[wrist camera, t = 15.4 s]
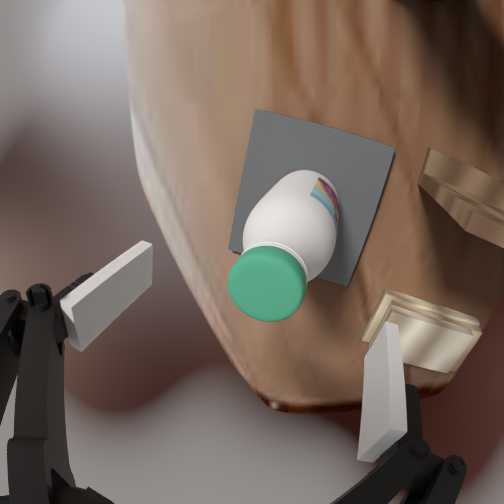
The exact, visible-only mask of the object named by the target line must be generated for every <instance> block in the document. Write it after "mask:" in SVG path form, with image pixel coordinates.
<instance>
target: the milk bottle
mask: <svg viewBox="0 0 504 504" xmlns="http://www.w3.org/2000/svg"><path fill="white" fill-rule="evenodd" d="M338 220H339V197H338V194H337V191H336V189H335V187H334V186H333V184H332V183H331V182H330V181H329V180H328V179H327V178H326V177H325V176H323V175H321V174H320V173H317V172H314V171H310V170H299V171H295V172H292V173H290V174H288V175H286V176H285V177H283V178H282V179H281V180H280V181H279V182H278V183H277V184H276V185H275V186H274V187H273V188H272V189H271V190H270V191H269V192H268V193H267V194H266V195H265V196H264V197H263V198H262V199H261V200H260V201H259V202H258V203H257V205H256V206H255V207H254V208H253V210H252V211H251V213H250V215H249V217H248V219H247V221H246V224H245V227H244V232H243V249H244V252H243V253H242V254H241V256H240V257H239V258H238V259H237V261H236V262H235V264H234V265H233V267H232V269H231V271H230V273H229V277H228V290H229V294H230V296H231V298H232V300H233V302H234V303H235V305H236V306H237V307H238V308H239V309H240V310H241V311H242V312H243V313H245V314H246V315H248V316H250V317H252V318H254V319H257V320H260V321H266V322H275V321H280V320H283V319H286V318H288V317H290V316H291V315H292V314H293V313H295V311H296V310H297V309H298V308H299V307H300V305H301V303H302V301H303V298H304V295H305V290H306V287H307V283H308V281H310V280H312V279H313V278H315V277H316V276H317V275H318V274H319V273H320V272H321V271H322V270H323V269H324V268H325V267H326V265H327V264H328V262H329V260H330V258H331V256H332V254H333V251H334V248H335V244H336V239H337V231H338Z"/></svg>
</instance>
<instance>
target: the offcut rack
mask: <svg viewBox="0 0 504 504" xmlns="http://www.w3.org/2000/svg"><path fill="white" fill-rule="evenodd" d="M418 184H419V185H420V186H421V187H422V188H423V189H424V190H425V191H426V192H427V193H428V194H429V195H430V196H431V197H432V198H433V199H434V200H435V201H436V202H438V203H439V204H440V205H441V206H442V207H443V208H444V209H445V210H446V211H447V212H448V213H449V215H450V216H451V217H452V218H453V219H454V220H455V221H456V222H457V223H458V224H459V225H460V226H461V227H462V228H463V229H464V230H465V231H466V232H469V233H471V234H473V235H476V236H478V237H480V238H482V239H485V240H487V241H489V242H491V243H493V244H496V245H498V246H500V247H502V248H504V183H503V182H501V181H499V180H497V179H495V178H493V177H491V176H489V175H488V174H486V173H484V172H482V171H480V170H478V169H476V168H474V167H472V166H469V165H467V164H465V163H463V162H461V161H459V160H457V159H455V158H452V157H450V156H448V155H446V154H443V153H441V152H439V151H436V150H434V149H432V148H428V151H427V155H426V158H425V162H424V165H423V168H422V171H421V175H420V178H419V181H418ZM385 321H386V322H390V323H393V324H396V325H398V328H399V335H400V343H401V351H402V360H403V363H406V364H410V365H414V366H418V367H422V368H426V369H431V370H435V371H439V372H443V373H448V372H449V371H453V372H455V371H456V370H457V368H458V367H459V366H460V364H461V363H462V362H463V360H464V359H465V358H466V356H467V355H468V353H469V352H470V351H471V349H472V348H473V346H474V345H475V343H476V342H477V341H478V339H479V337H480V336H481V335H482V331H481V329H480V327H479V325H480V323H479V321H478V319H477V317H474V316H471V315H467V314H464V313H461V312H458V311H455V310H452V309H449V308H446V307H443V306H440V305H437V304H433V303H430V302H427V301H424V300H421V299H418V298H415V297H412V296H409V295H406V294H402V293H399V292H396V291H393V290H390V289H387V288H384V290H383V293H382V295H381V297H380V299H379V301H378V303H377V305H376V307H375V309H374V311H373V313H372V315H371V317H370V319H369V321H368V323H367V325H366V327H365V329H364V331H363V333H362V341H365V342H368V343H369V349H370V348H371V346H372V344H373V342H374V341H375V339H376V337H377V335H378V334H379V332H380V330H381V328H382V326H383V325H384V323H385Z"/></svg>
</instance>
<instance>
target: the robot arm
mask: <svg viewBox="0 0 504 504" xmlns="http://www.w3.org/2000/svg"><path fill="white" fill-rule="evenodd" d="M152 257H153V244H151V243H148V242H145V241H141V242H139V243H138V244H136V245H135V246H133V247H132V248H130V249H129V250H128V251H126V252H125V253H123V254H122V255H120V256H119V257H118V258H116V259H115V260H113V261H112V262H111V263H109V264H108V265H106V266H105V267H104V268H102V269H101V270H100V271H98V272H97V273H96V274H93V273H88V274H85V275H82V276H81V277H79V278H78V279H77V280H75V282H72V283H71V284H70V286H67V287H66V288H65V289H63V290H62V291H60V292H59V293H58V294H56V295H55V296H54V297H52V292H51V288H50V287H49V285H46V284H42V283H40V284H35V285H33V286H31V287H29V288H28V289H27V291H26V295H27V299H28V301H25V300H22V298H21V294H20V292H19V291H17V290H7V291H5V292H3V293H2V294H1V295H0V425H1V422H2V418H3V415H4V412H5V409H6V405H7V402H8V399H9V396H10V394H11V390H12V388H13V385H14V382H15V379H16V377H17V374H18V378H17V388H16V399H15V400H16V401H15V415H14V436H13V438H11V439H9V440H8V444H7V465H8V484H9V495H6V496H0V504H114V503H113V502H112V501H110V500H109V499H107V498H105V497H104V496H102V495H101V494H99V493H97V492H96V491H94V490H93V489H91V488H90V487H88V488H87V489H82V488H79V487H76V484H75V480H74V477H73V474H72V472H71V469H70V465H69V458H68V449H67V439H66V426H65V410H64V409H65V407H64V349H65V344H64V340H65V339H66V338H67V337H68V338H69V341H70V345H72V346H73V347H75V348H76V349H78V350H80V351H83V350H84V349H85V348H86V347H87V346H88V345H89V344H90V343H91V342H92V341H93V340H94V339H95V338H96V337H97V336H98V335H99V334H100V333H101V332H102V331H103V330H104V329H105V328H106V327H107V326H108V325H109V324H110V323H111V322H112V321H114V319H116V318H117V316H119V315H120V314H121V313H122V312H123V311H124V310H125V309H126V308H127V307H128V306H129V305H130V304H131V303H132V302H133V301H135V300H136V299H137V298H138V297H139V296H140V295H141V294H142V293H143V292H144V291H145V290H146V289H147V288H148V287H149V286H151V284H152ZM420 411H421V409H420V399H419V394H418V392H417V390H416V388H415V386H413V385H409V384H405V381H404V370H403V360H402V351H401V343H400V335H399V328H398V325H396V324H393V323H390V322H386V321H385V323H384V325H383V326H382V328H381V330H380V332H379V334H378V335H377V337H376V339H375V341H374V342H373V344H372V346H371V348H370V349H369V351H368V353H367V354H366V356H365V358H364V383H363V401H362V415H361V428H360V437H359V448H358V456H357V460H360V461H365V462H372V463H373V462H374V461H375V460H376V459H378V458H379V465H378V466H377V467H376V468H374V469H373V470H372V471H371V472H369V473H368V475H367V476H365V477H364V478H363V479H362V480H360V481H359V482H358V483H357V484H355V485H354V486H353V487H352V488H350V489H349V490H348V491H347V492H345V493H344V494H343V495H341V496H340V497H339V498H337V499H336V500H335V501H333V502H332V503H330V504H388V503H389V502H390V501H391V500H392V499H393V498H394V497H395V496H396V495H397V494H398V493H399V492H400V491H401V490H403V491H405V492H406V493H405V495H404V497H403V499H402V500H401V502H400V504H455V502H456V499H457V496H458V494H459V491H460V489H461V486H462V483H463V481H464V478H465V475H466V470H467V468H466V464H465V462H464V460H463V459H462V458H461V457H460V456H456V455H451V456H449V457H448V458H446V459H443V458H441V457H438V456H437V455H434V454H433V453H431V452H430V451H431V450H430V447H429V445H428V444H427V443H426V441H424V440H423V438H422V421H421V413H420Z"/></svg>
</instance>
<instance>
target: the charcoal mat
mask: <svg viewBox="0 0 504 504" xmlns="http://www.w3.org/2000/svg"><path fill="white" fill-rule="evenodd" d="M394 151H395V148H394V147H391V146H388V145H385V144H382V143H379V142H376V141H373V140H370V139H367V138H364V137H361V136H358V135H355V134H352V133H348V132H345V131H342V130H338V129H335V128H331V127H328V126H324V125H321V124H317V123H313V122H309V121H305V120H301V119H297V118H293V117H289V116H285V115H280V114H276V113H271V112H267V111H262V110H255V115H254V120H253V125H252V130H251V135H250V139H249V144H248V149H247V154H246V159H245V164H244V169H243V174H242V179H241V185H240V190H239V195H238V200H237V205H236V211H235V216H234V221H233V226H232V232H231V237H230V243H229V248H228V249H229V250H232V251H235V252H238V253H241V254H242V253H243V252H244V249H243V232H244V227H245V224H246V221H247V219H248V217H249V215H250V213H251V211H252V210H253V208H254V207H255V206H256V205H257V203H258V202H259V201H260V200H261V199H262V198H263V197H264V196H265V195H266V194H267V193H268V192H269V191H270V190H271V189H272V188H273V187H274V186H275V185H276V184H277V183H278V182H279V181H280V180H281V179H282V178H283V177H285V176H286V175H288V174H290V173H292V172H295V171H299V170H310V171H314V172H317V173H320V174H321V175H323V176H325V177H326V178H327V179H328V180H329V181H330V182H331V183H332V184H333V186H334V187H335V189H336V191H337V194H338V197H339V220H338V231H337V239H336V244H335V248H334V251H333V254H332V256H331V258H330V260H329V262H328V264H327V265H326V267H325V268H324V269H323V270H322V271H321V272H320V273H319V274H318V275H317V276H316V277H317V278H320V279H323V280H326V281H330V282H333V283H336V284H339V285H342V286H345V287H347V286H348V283H349V281H350V278H351V276H352V273H353V271H354V268H355V266H356V263H357V261H358V258H359V256H360V253H361V250H362V248H363V245H364V242H365V240H366V237H367V234H368V231H369V228H370V226H371V223H372V220H373V217H374V214H375V211H376V208H377V205H378V202H379V199H380V196H381V193H382V190H383V187H384V184H385V181H386V177H387V174H388V171H389V168H390V164H391V161H392V157H393V154H394Z"/></svg>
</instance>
